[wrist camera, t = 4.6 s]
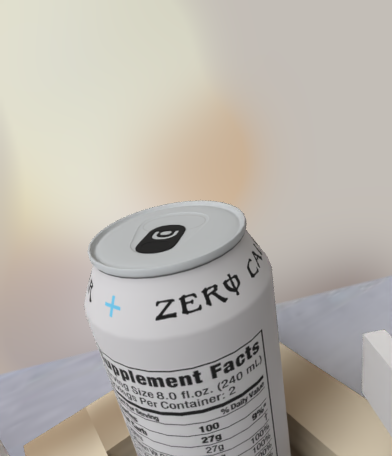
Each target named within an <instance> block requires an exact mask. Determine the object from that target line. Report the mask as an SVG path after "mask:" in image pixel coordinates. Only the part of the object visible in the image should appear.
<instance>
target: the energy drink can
mask: <svg viewBox="0 0 392 456" xmlns="http://www.w3.org/2000/svg"><path fill="white" fill-rule="evenodd" d="M88 255H89V258H90V261H91V263H92V264H93V268H92V271H91V275H90V279H89V283H88V288H87V292H86V298H85V304H84V308H85V313H86V317H87V319H88V322H89V325H90V328H91V330H92V333H93V336H94V339H95V341H96V344H97V347H98V349H99V352H100V355H101V358H102V360H103V363H104V366H105V368H106V371H107V374H108V377H109V379H110V382H111V385H112V387H113V390H114V393H115V396H116V398H117V401H118V404H119V406H120V409H121V412H122V415H123V417H124V420H125V423H126V425H127V428H128V431H129V434H130V436H131V439H132V442H133V444H134V447H135V450H136V453H137V455H138V456H291V453H290V443H289V433H288V423H287V413H286V404H285V394H284V384H283V374H282V364H281V355H280V345H279V335H278V325H277V315H276V306H275V296H274V287H273V277H272V267H271V264H270V262H269V259H268V257H267V256H266V254H265V253H264V252H263V251H262V249H261V248H260V247H259V245H258V244H257V243H256V242H255V241H254V239H253V238H252V237H251V236H250V234H249V233H248V232H247V230H246V218H245V216H244V213H242V211H241V210H239V209H238V208H237V207H235V206H232V205H230V204H226V203H223V202H216V201H185V202H177V203H171V204H165V205H161V206H157V207H152V208H149V209H145V210H142V211H139V212H136V213H134V214H131V215H128V216H126V217H124V218H122V219H120V220H117V221H116V222H114V223H112V224H110V225H109V226H107V227H106V228H104V229H103V230H101V231H100V232H99V233H98V234H97V235H96V236H95V237H94V238H93V239H92V241H91V242H90V244H89V248H88Z"/></svg>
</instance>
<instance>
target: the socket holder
mask: <svg viewBox="0 0 392 456" xmlns="http://www.w3.org/2000/svg"><path fill="white" fill-rule="evenodd" d="M279 345H280V355H281V364H282V374H283V384H284V394H285V404H286V413H287V423H288V433H289V443H290V453H291V456H392V437H391V435H390V434H389V432H388V431H387V429H386V428H385V426H384V425H383V423H382V422H381V420H380V419H379V417H378V416H377V414H376V413H375V411H374V410H373V408H372V407H371V405H370V403H369V402H368V400H367V399H365V398H364V397H362V396H361V395H359V394H358V393H356V392H355V391H353V390H352V389H350V388H349V387H347V386H346V385H344V384H343V383H341V382H340V381H338V380H336V379H335V378H333V377H332V376H330V375H329V374H327V373H326V372H324V371H323V370H321V369H320V368H318V367H317V366H315V365H314V364H312V363H311V362H309V361H308V360H306V359H305V358H303V357H302V356H300V355H299V354H297V353H295V352H294V351H292V350H291V349H289V348H288V347H286V346H285V345H283V344H282V343H280V342H279ZM24 451H25V456H138V455H137V453H136V450H135V447H134V444H133V442H132V439H131V436H130V434H129V431H128V428H127V425H126V423H125V420H124V417H123V415H122V412H121V409H120V406H119V404H118V401H117V398H116V396H115V393H114V390H112V391H111V392H109V393H107V394H106V395H104V396H103V397H101V398H99V399H98V400H96V401H95V402H93V403H91V404H90V405H88V406H87V407H85V408H83V409H82V410H80V411H79V412H77V413H75V414H74V415H72V416H71V417H69V418H67V419H66V420H64V421H63V422H61V423H59V424H58V425H56V426H54V427H53V428H51V429H50V430H48V431H46V432H45V433H43V434H42V435H40V436H38V437H37V438H35V439H34V440H32V441H30V442H29V443H27V444H26V445H24Z"/></svg>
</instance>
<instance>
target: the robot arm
mask: <svg viewBox="0 0 392 456" xmlns="http://www.w3.org/2000/svg"><path fill="white" fill-rule="evenodd" d="M362 393H363V394H364V396H365V397H366V399H367V400H368V402H369V403H370V405H371V407H372V408H373V410H374V411H375V413H376V414H377V416H378V417H379V419H380V420H381V422H382V423H383V425H384V426H385V428H386V429H387V431H388V432H389V434H390V435H391V437H392V337H391V336H390V335H389V334H388V333H387V331H386V330H385V329H383V330H378V331H374V332H369V333H364V334H363V350H362ZM0 456H9V454H8V452H7V451H6V449H5V447H4V445H3V444H2V442H1V440H0Z"/></svg>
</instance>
